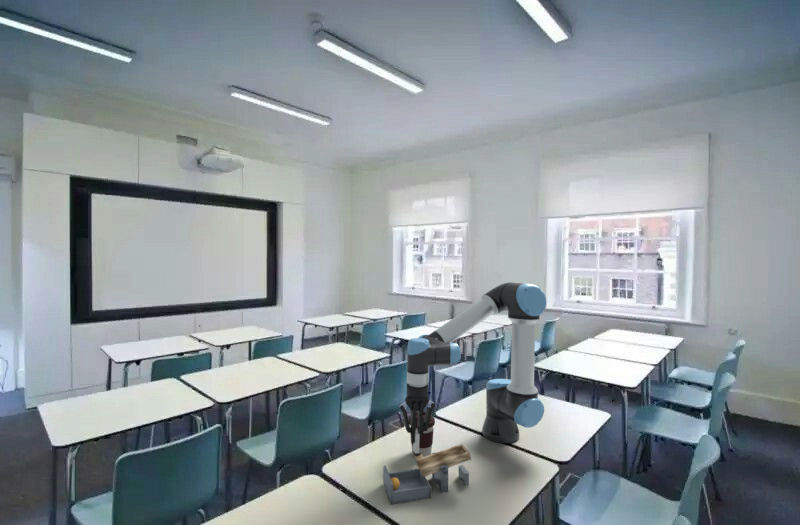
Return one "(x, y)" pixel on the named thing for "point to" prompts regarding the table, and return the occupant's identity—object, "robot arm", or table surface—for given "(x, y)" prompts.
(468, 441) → the table surface
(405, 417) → the robot arm
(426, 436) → the coffee cup
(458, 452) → the lever
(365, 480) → the table surface
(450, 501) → the table surface
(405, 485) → the tray
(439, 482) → the fulcrum
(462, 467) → the post
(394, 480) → the ball
